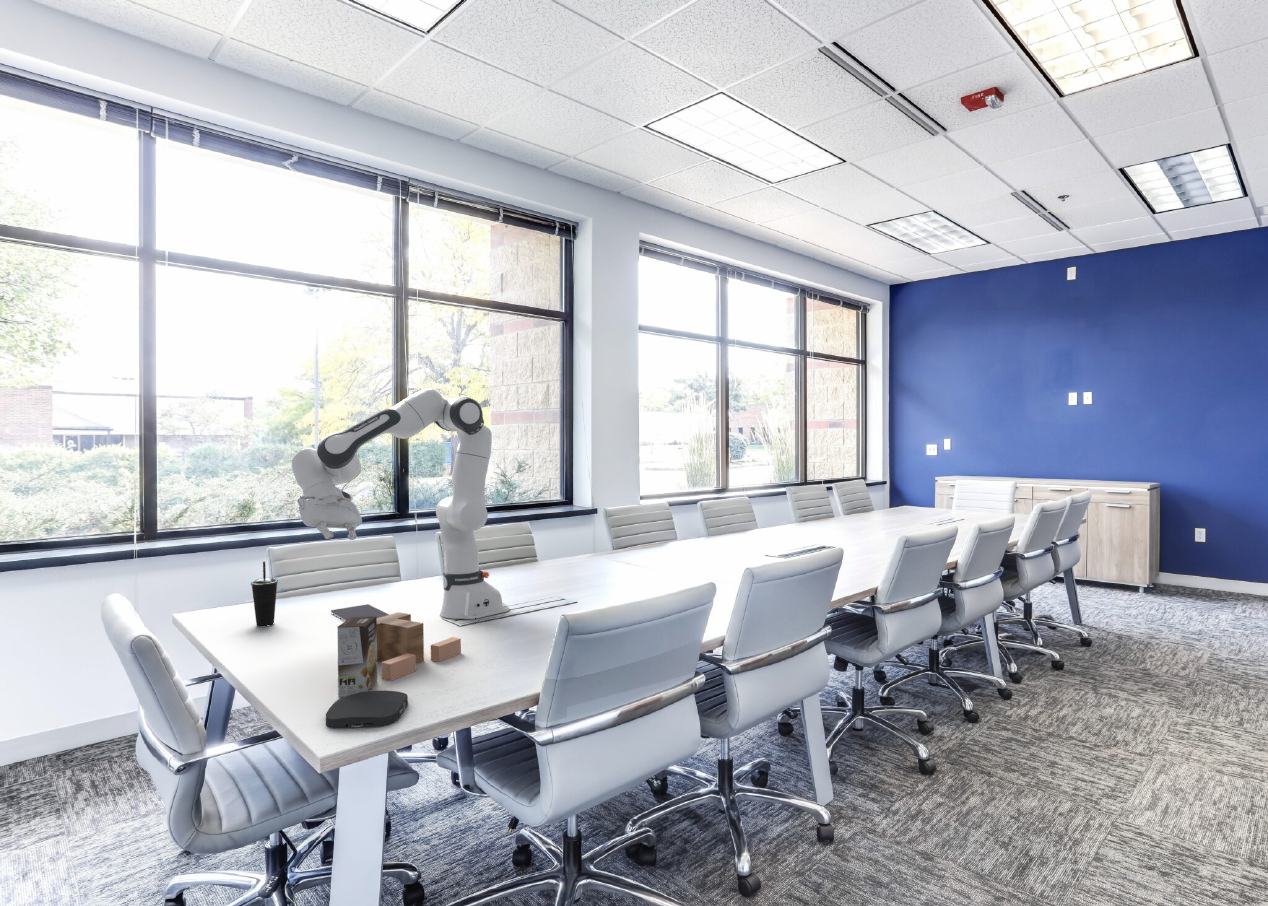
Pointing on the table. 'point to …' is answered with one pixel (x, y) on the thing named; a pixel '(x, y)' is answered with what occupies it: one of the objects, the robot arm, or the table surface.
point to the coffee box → (357, 655)
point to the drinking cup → (264, 599)
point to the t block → (399, 637)
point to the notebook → (358, 612)
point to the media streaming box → (367, 709)
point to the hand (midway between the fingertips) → (342, 538)
